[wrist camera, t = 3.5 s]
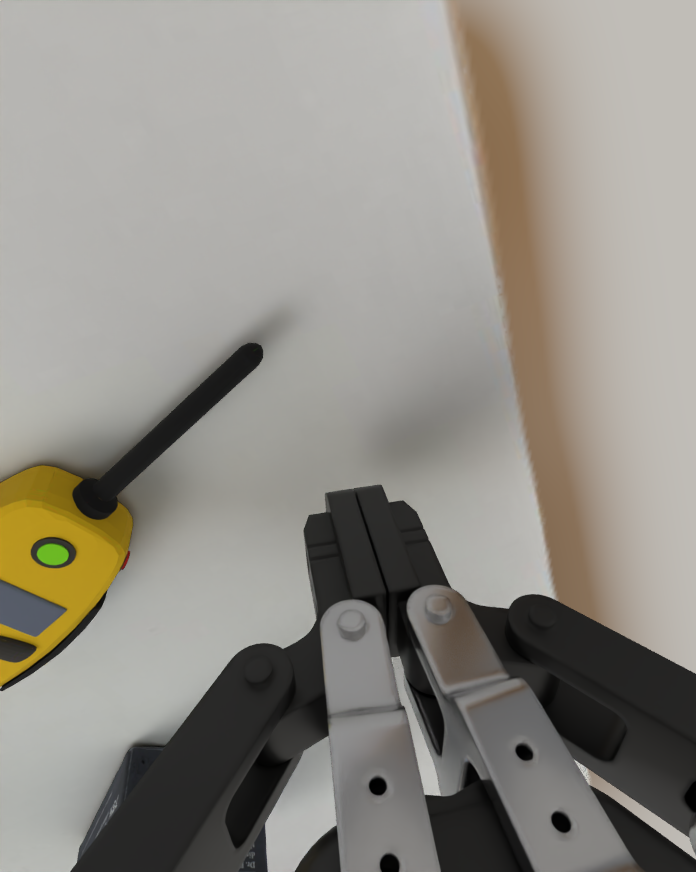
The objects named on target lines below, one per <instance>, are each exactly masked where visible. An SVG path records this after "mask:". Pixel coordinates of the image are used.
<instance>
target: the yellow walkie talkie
mask: <svg viewBox="0 0 696 872" xmlns="http://www.w3.org/2000/svg"><path fill="white" fill-rule="evenodd" d="M262 359H263V349H262V347H261V345H259V344H257V343H248V344H245V345H243V346H241V347H240V348H239V349H238V350H237V351H236V352H235V353H234V354H233V355H232V356H231V357H230V358H228V359H227V360H226V361H225V362H224V363H223V364H222V365H221V366H220V367H219V368H218V369H217V370H216V371H215V372H214V373H212V374H211V375H210V376H209V377H208V378H207V379H206V380H205V381H204V382H203V383H202V384H201V385H200V386H199V387H198V388H196V389H195V390H194V391H193V392H192V393H191V394H190V395H189V396H188V397H187V398H186V399H185V400H184V401H183V402H181V403H180V404H179V405H178V406H177V407H176V408H175V409H174V410H173V411H172V412H171V413H170V414H169V415H168V416H167V417H165V418H164V419H163V420H162V421H161V422H160V423H159V424H158V425H157V426H156V427H155V428H154V429H153V430H152V431H151V432H149V433H148V434H147V435H146V436H145V437H144V438H143V439H142V440H141V441H140V442H139V443H138V444H137V445H136V446H135V447H133V448H132V449H131V450H130V451H129V452H128V453H127V454H126V455H125V456H124V457H123V458H122V459H121V460H120V461H118V462H117V463H116V464H115V465H114V466H113V467H112V468H111V469H110V470H109V471H108V472H107V473H106V474H105V475H104V476H102V477H101V478H100V479H99V480H96V479H92V478H88V479H82V478H81V477H78V476H76V475H73V474H71V473H69V472H66V471H64V470H62V469H59V468H57V467H51V466H44V465H40V466H36V467H32V468H29V469H27V470H25V471H22V472H20V473H18V474H16V475H14V476H12V477H10V478H8V479H6V480H5V481H3V482H1V483H0V687H1V686H2V688H1V689H0V691H3V690H5V689H7V688H9V687H11V686H12V685H14V684H16V683H18V682H19V681H21V680H22V679H24V678H26V677H27V676H29V675H31V674H32V673H34V672H35V671H36V670H38V669H39V668H41V667H42V666H43V665H45V664H46V663H47V662H49V661H50V660H51V659H53V658H54V657H55V656H57V655H58V654H59V653H61V652H62V651H63V650H64V649H65V648H66V647H67V646H68V645H69V644H70V643H71V642H72V641H73V640H74V639H75V638H76V637H77V636H78V635H79V634H80V633H81V632H82V631H83V630H84V629H85V628H86V627H87V625H88V624H89V623H90V622H91V620H92V619H93V618H94V617H95V615H96V614H97V613H98V611H99V610H100V608H101V607H102V605H103V603H104V600H105V598H106V594H107V589H108V588H109V586H110V585H111V583H112V581H113V580H114V578H115V577H116V575H117V573H118V572H119V571H120V570H121V569H122V570H123V569H124V568H125V566H126V564H127V561H128V558H129V555H130V551H128V548H129V543H130V538H131V533H132V528H133V518H132V516H131V515H130V513H129V511H128V509H127V508H125V507H124V506H123V505H122V504H121V503H119V502H118V501H117V498H116V495H117V494H118V493H120V492H121V491H122V490H123V489H124V488H125V487H126V486H127V485H128V484H129V483H130V482H132V481H133V480H134V479H135V478H136V477H137V476H138V475H139V474H140V473H141V472H142V471H144V470H145V469H146V468H147V467H148V466H149V465H150V464H151V463H152V462H153V461H154V460H156V459H157V458H158V457H159V456H160V455H161V454H162V453H163V452H164V451H165V450H166V449H168V448H169V447H170V446H171V445H172V444H173V443H174V442H175V441H176V440H177V439H178V438H180V437H181V436H182V435H183V434H184V433H185V432H186V431H187V430H188V429H189V428H191V427H192V426H193V425H194V424H195V423H196V422H197V421H198V420H199V419H200V418H201V417H203V416H204V415H205V414H206V413H207V412H208V411H209V410H210V409H211V408H212V407H213V406H215V405H216V404H217V403H218V402H219V401H220V400H221V399H222V398H223V397H224V396H225V395H227V394H228V393H229V392H230V391H231V390H232V389H233V388H234V387H235V386H236V385H237V384H239V383H240V382H241V381H242V380H243V379H244V378H245V377H246V376H247V375H248V374H249V373H251V372H252V371H253V370H254V369H255V368H256V367H257V366H258V365H259V364H260V362H261V360H262Z"/></svg>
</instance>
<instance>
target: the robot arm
mask: <svg viewBox="0 0 696 872" xmlns="http://www.w3.org/2000/svg"><path fill="white" fill-rule="evenodd" d="M325 502H326V513H320V514H313V515H309V517H308V519H307V522H306V525H305V528H304V538H305V548H306V557H307V566H308V574H309V579H310V585H311V591H312V596H313V602H314V608H315V613H316V619H317V620H316V622H315V624H314V626H313V628H312V629H311V631H310V632H309V633H308V634H307V635H306V636H305V637H304V638H302V639H301V640H299V641H298V642H296V643H294V644H292V645H290V646H288V647H286V648H284V649H282V648H280V647H278V646H276V645H273V644H265V643H261V644H255V645H252V646H249V647H247V648H245V649H243V650H241V651H240V652H239V653H237V654H236V655H235V656H234V657H233V658H232V659H231V661H230V662H229V663H228V665H227V666H226V667H225V669H224V670H223V671H222V672H221V674H220V675H219V676H218V678H217V679H216V680H215V682H214V683H213V684H212V686H211V687H210V688H209V690H208V691H207V692H206V694H205V695H204V696H203V697H202V699H201V700H200V701H199V703H198V704H197V705H196V707H195V708H194V709H193V711H192V712H191V713H190V715H189V716H188V717H187V719H186V720H185V721H184V723H183V724H182V725H181V726H180V728H179V729H178V730H177V732H176V733H175V734H174V736H173V737H172V738H171V740H170V741H169V742H168V744H167V745H166V746H165V748H164V749H163V750H162V752H161V753H160V754H159V755H158V757H157V758H156V759H155V761H154V762H153V763H152V765H151V766H150V767H149V769H148V770H147V771H146V773H145V774H144V775H143V777H142V778H141V779H140V780H139V782H138V783H137V784H136V786H135V787H134V788H133V790H132V791H131V792H130V794H129V795H128V796H127V798H126V799H125V800H124V802H123V803H122V804H121V806H120V807H119V808H118V809H117V811H116V812H115V813H114V815H113V816H112V817H111V819H110V820H109V821H108V823H107V824H106V825H105V827H104V828H103V829H102V831H101V832H100V833H99V835H98V836H97V837H96V838H95V840H94V841H93V842H92V844H91V845H90V846H89V848H88V849H87V850H86V852H85V853H84V854H83V856H82V857H81V858H80V860H79V861H78V862H77V863H76V865H75V866H74V867H73V869H72V870H71V871H70V872H238V871H239V869H240V867H241V866H242V864H243V862H244V860H245V858H246V857H247V855H248V853H249V851H250V849H251V847H252V846H253V844H254V842H255V840H256V838H257V837H258V835H259V833H260V831H261V829H262V828H263V826H264V824H265V822H266V820H267V818H268V817H269V815H270V813H271V811H272V809H273V808H274V806H275V804H276V802H277V800H278V799H279V797H280V795H281V793H282V791H283V789H284V788H285V786H286V784H287V782H288V780H289V779H290V777H291V775H292V773H293V771H294V769H295V768H296V766H297V764H298V762H299V760H300V758H301V756H302V754H303V751H304V750H306V749H307V748H309V747H311V746H312V745H314V744H315V743H317V742H319V741H320V740H322V739H324V738H325V737H327V736H328V735H329V741H330V752H331V764H332V775H333V786H334V798H335V809H336V821H337V826H335V827H333V828H332V829H331V830H329V831H328V832H327V833H326V834H324V835H323V836H322V837H321V838H320V839H319V840H318V841H317V842H316V843H315V844H314V845H313V846H312V847H311V848H310V850H309V851H308V852H307V854H306V855H305V856H304V858H303V859H302V860H301V862H300V864H299V865H298V867H297V869H296V870H295V872H696V860H695V859H694V858H693V857H691V856H690V855H689V854H687V853H686V852H684V851H683V850H682V849H681V848H679V847H678V846H676V845H675V844H674V843H672V842H671V841H669V840H668V839H667V838H666V837H664V836H663V835H661V834H660V833H659V832H657V831H656V830H655V829H653V828H652V827H650V826H649V825H648V824H646V823H645V822H643V821H642V820H641V819H640V818H638V817H637V816H635V815H634V814H633V813H631V812H630V811H629V810H627V809H626V808H625V807H623V806H622V805H620V804H619V803H618V802H616V801H615V800H614V799H612V798H611V797H609V796H608V795H606V794H605V793H603V792H601V791H599V790H598V789H596V788H594V787H592V786H590V785H589V784H588V783H587V781H586V779H585V778H584V776H583V774H582V773H581V771H580V769H579V768H578V766H577V764H576V763H575V761H574V759H575V760H576V761H578V762H579V763H581V764H582V765H584V766H585V767H586V768H588V769H589V770H591V771H592V772H594V773H595V774H597V775H598V776H600V777H601V778H603V779H604V780H606V781H607V782H608V783H610V784H611V785H613V786H614V787H616V788H617V789H619V790H620V791H622V792H623V793H625V794H626V795H628V796H629V797H631V798H632V799H634V800H635V801H636V802H638V803H640V804H641V805H642V806H644V807H645V808H647V809H648V810H650V811H651V812H652V813H654V814H656V815H657V816H658V817H660V818H661V819H663V820H664V821H666V822H667V823H669V824H670V825H672V826H673V827H675V828H676V829H677V830H679V831H680V832H682V833H683V834H685V835H686V836H688V837H689V838H690V842H691V845H692V848H693V850H694V852H695V854H696V674H695V673H693V672H691V671H689V670H687V669H685V668H684V667H682V666H680V665H678V664H676V663H674V662H672V661H670V660H668V659H666V658H665V657H662V656H661V655H659V654H657V653H655V652H653V651H651V650H649V649H647V648H646V647H644V646H641V645H640V644H638V643H636V642H634V641H632V640H630V639H628V638H626V637H625V636H623V635H621V634H619V633H617V632H615V631H613V630H611V629H609V628H607V627H605V626H604V625H602V624H600V623H598V622H596V621H594V620H592V619H590V618H588V617H586V616H585V615H583V614H581V613H579V612H577V611H575V610H573V609H571V608H569V607H567V606H565V605H564V604H562V603H560V602H558V601H556V600H554V599H552V598H550V597H547V596H543V595H536V594H531V595H525V596H521V597H519V598H517V599H516V600H515V601H514V602H513V603H512V604H511V606H510V608H509V609H506V608H496V607H486V606H480V605H476V604H473V603H471V602H468V601H467V600H465V598H464V597H463V596H462V595H461V594H460V593H458V592H457V591H455V590H454V589H452V588H451V586H450V584H449V583H448V580H447V578H446V576H445V574H444V572H443V569H442V567H441V565H440V563H439V561H438V558H437V556H436V554H435V552H434V549H433V547H432V545H431V543H430V541H429V540H428V536H427V534H426V532H425V530H424V529H423V525H422V523H421V521H420V519H419V516H418V514H417V512H416V511H415V510H414V509H413V508H411V507H410V506H409V505H408V504H407V503H406V502H404V501H403V500H402V501H396V502H390V503H389V502H388V499H387V497H386V494H385V492H384V489H383V487H382V485H373V486H367V487H360V488H354V490H353V489H348V490H341V491H334V492H328V493H325ZM397 656H400V658H401V662H402V665H403V668H404V686H405V690H406V692H407V695H408V698H409V700H410V703H411V705H412V708H413V710H414V713H415V716H416V718H417V721H418V723H419V726H420V729H421V731H422V734H423V736H424V739H425V741H426V744H427V747H428V749H429V752H430V754H431V757H432V760H433V762H434V765H435V769H436V772H437V777H438V784H439V789H440V793H441V796H433V795H424V790H423V786H422V781H421V776H420V772H419V767H418V762H417V758H416V753H415V748H414V744H413V739H412V734H411V730H410V725H409V720H408V716H407V713H406V710H405V707H404V706H402V705H401V702H400V698H399V694H398V689H397V684H396V679H395V674H394V670H393V665H392V660H391V657H397Z"/></svg>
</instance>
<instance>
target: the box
mask: <svg viewBox="0 0 696 872" xmlns="http://www.w3.org/2000/svg"><path fill="white" fill-rule="evenodd" d="M164 748H165V747H133V748H131V749H130V750H129V751H128V752H127V754H126V756H125V758H124V760H123V762H122V764H121V766H120V768H119V770H118V772H117V774H116V776H115V778H114V780H113V782H112V784H111V786H110V788H109V790H108V792H107V794H106V796H105V798H104V800H103V802H102V804H101V806H100V808H99V810H98V812H97V814H96V816H95V819H94V820H93V823H92V825H91V827H90V829H89V831H88V832H87V835H86V837H85V839H84V841H83V843H82V844H81V846H80V848H79V853H78V860H77V862H78V861H79V860H80V858H81V857H82V856H83V854H84V853H85V852H86V850H87V849H88V848H89V846H90V845H91V844H92V842H93V841H94V840H95V838H96V837H97V836H98V835H99V833H100V832H101V831H102V829H103V828H104V827H105V825H106V824H107V823H108V821H109V820H110V819H111V817H112V816H113V815H114V813H115V812H116V811H117V809H118V808H119V807H120V806H121V804H122V803H123V802H124V800H125V799H126V798H127V796H128V795H129V794H130V792H131V791H132V790H133V788H134V787H135V786H136V784H137V783H138V782H139V780H140V779H141V778H142V777H143V775H144V774H145V773H146V771H147V770H148V769H149V767H150V766H151V765H152V763H153V762H154V761H155V759H156V758H157V757H158V755H159V754H160V753H161V752H162V750H163V749H164ZM238 872H268V869H267V855H266V834H265V824H264V826H263V828H262V829H261V831H260V833H259V835H258V837H257V838H256V840H255V842H254V844H253V846H252V847H251V849H250V851H249V853H248V855H247V857H246V858H245V860H244V862H243V864H242V866H241V867H240V869H239V871H238Z"/></svg>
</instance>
